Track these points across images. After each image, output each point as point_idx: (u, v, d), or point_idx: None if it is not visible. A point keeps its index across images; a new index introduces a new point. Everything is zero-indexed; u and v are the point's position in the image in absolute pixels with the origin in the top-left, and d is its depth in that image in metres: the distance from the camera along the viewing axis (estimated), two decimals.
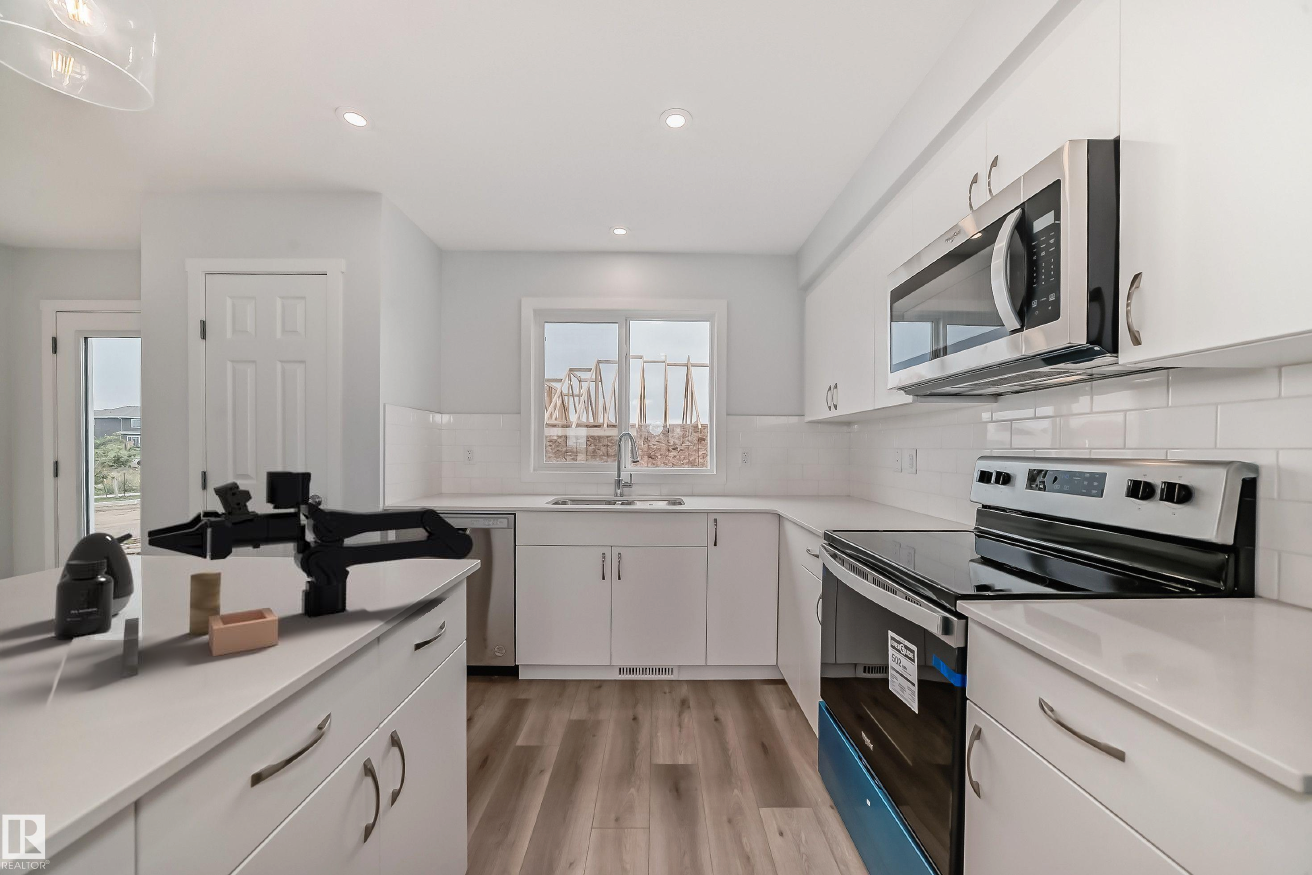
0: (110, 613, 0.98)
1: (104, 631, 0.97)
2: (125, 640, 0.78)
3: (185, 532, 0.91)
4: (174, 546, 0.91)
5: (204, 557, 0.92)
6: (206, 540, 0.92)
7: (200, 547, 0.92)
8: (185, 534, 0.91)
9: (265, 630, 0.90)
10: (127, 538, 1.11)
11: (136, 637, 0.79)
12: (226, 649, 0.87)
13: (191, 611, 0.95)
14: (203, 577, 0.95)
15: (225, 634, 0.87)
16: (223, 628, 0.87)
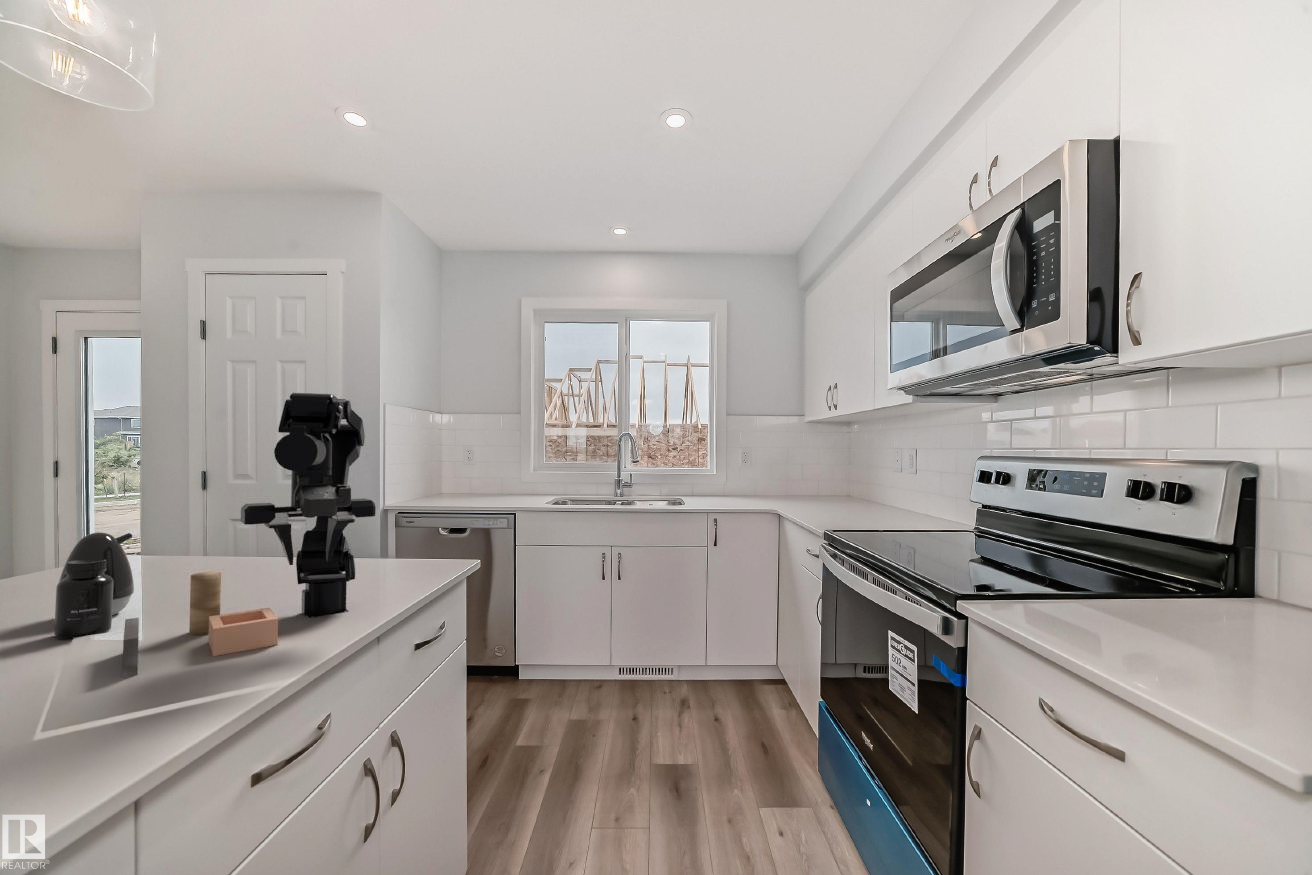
0: (110, 613, 0.98)
1: (104, 631, 0.97)
2: (125, 640, 0.78)
3: (340, 535, 0.99)
4: None
5: None
6: None
7: None
8: None
9: (265, 630, 0.90)
10: (127, 538, 1.11)
11: (136, 637, 0.79)
12: (226, 649, 0.87)
13: (191, 611, 0.95)
14: (203, 577, 0.95)
15: (225, 634, 0.87)
16: (223, 628, 0.87)
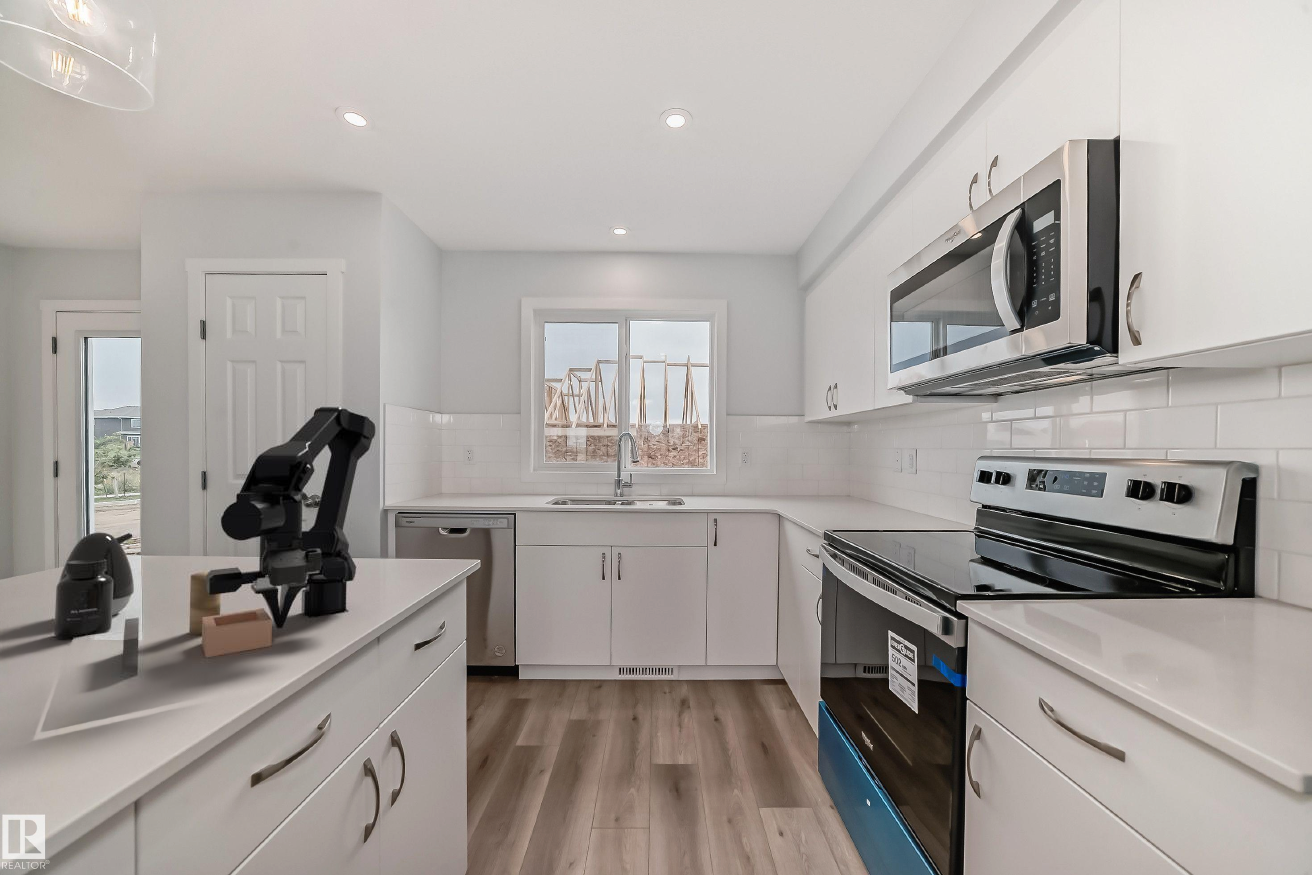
0: (110, 613, 0.98)
1: (104, 631, 0.97)
2: (125, 640, 0.78)
3: None
4: None
5: None
6: None
7: None
8: None
9: (259, 631, 0.89)
10: (127, 538, 1.11)
11: (136, 637, 0.79)
12: (219, 650, 0.86)
13: (191, 611, 0.95)
14: (203, 577, 0.95)
15: (219, 636, 0.86)
16: (216, 629, 0.86)
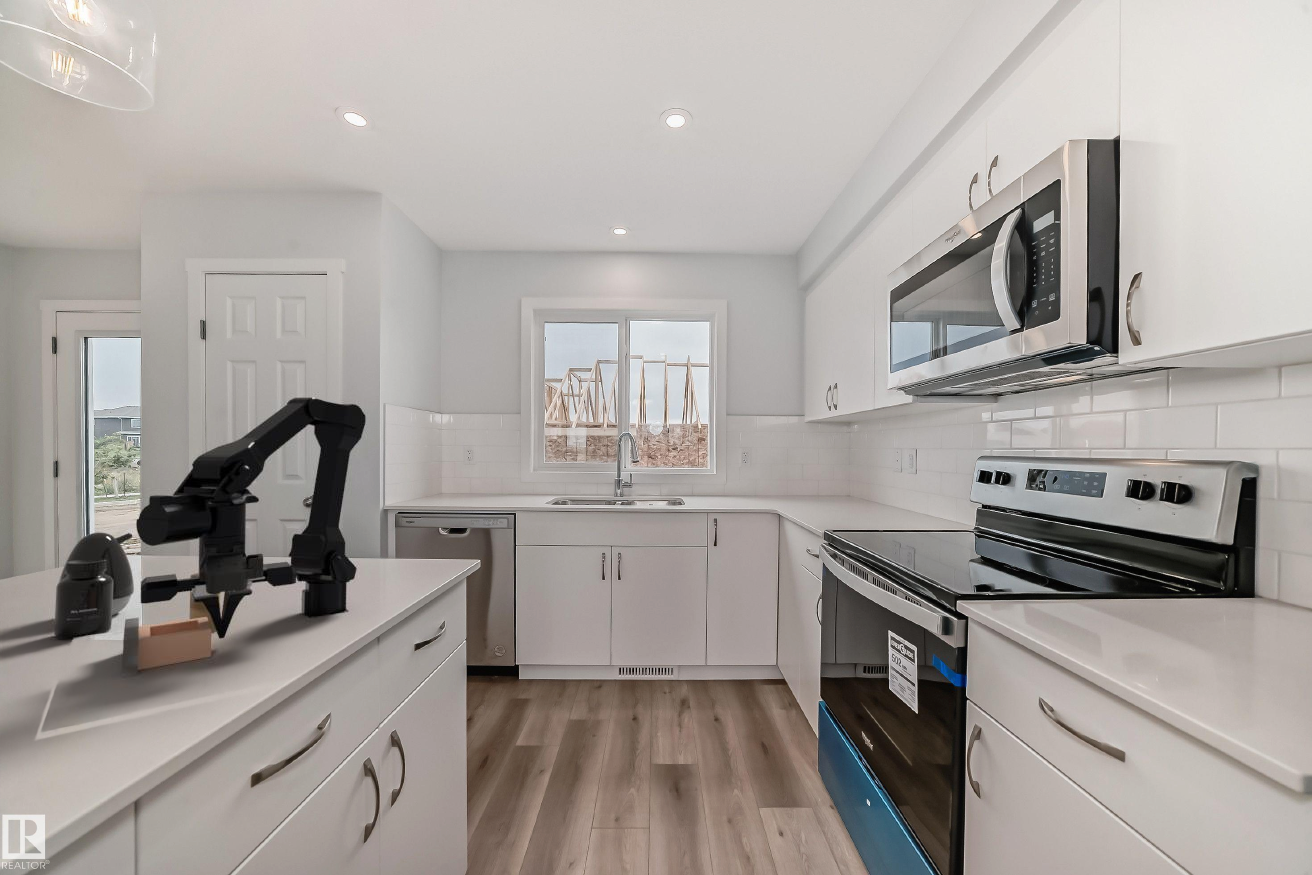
0: (110, 613, 0.98)
1: (104, 631, 0.97)
2: (125, 640, 0.78)
3: (235, 608, 0.90)
4: None
5: None
6: None
7: None
8: None
9: (197, 641, 0.85)
10: (127, 538, 1.11)
11: (136, 637, 0.79)
12: (152, 662, 0.81)
13: (191, 611, 0.95)
14: None
15: (152, 647, 0.81)
16: (149, 640, 0.81)
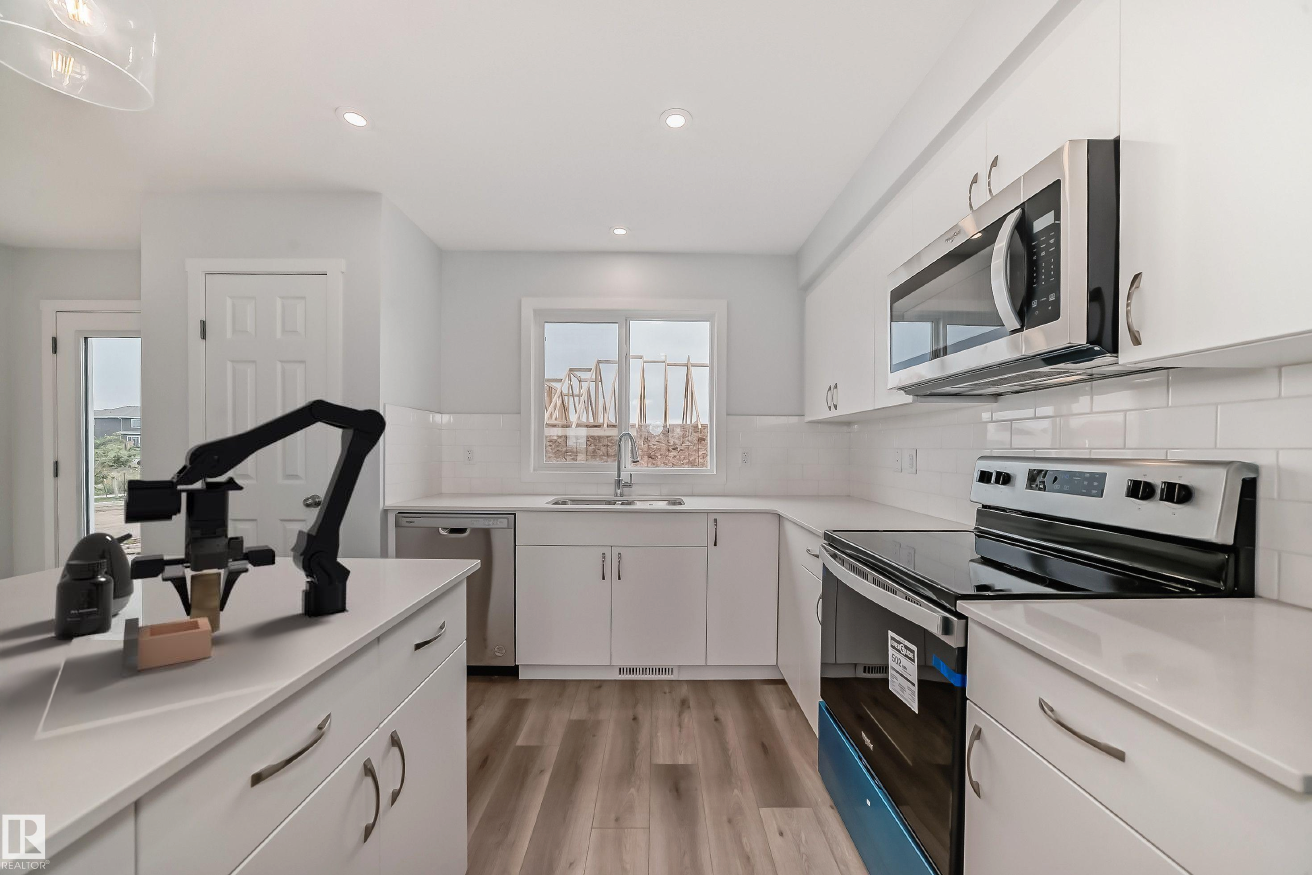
0: (110, 613, 0.98)
1: (104, 631, 0.97)
2: (125, 640, 0.78)
3: (233, 585, 0.99)
4: None
5: None
6: None
7: None
8: None
9: (197, 641, 0.85)
10: (127, 538, 1.11)
11: (136, 637, 0.79)
12: (152, 662, 0.81)
13: (191, 611, 0.95)
14: (203, 577, 0.95)
15: (152, 647, 0.81)
16: (149, 640, 0.81)
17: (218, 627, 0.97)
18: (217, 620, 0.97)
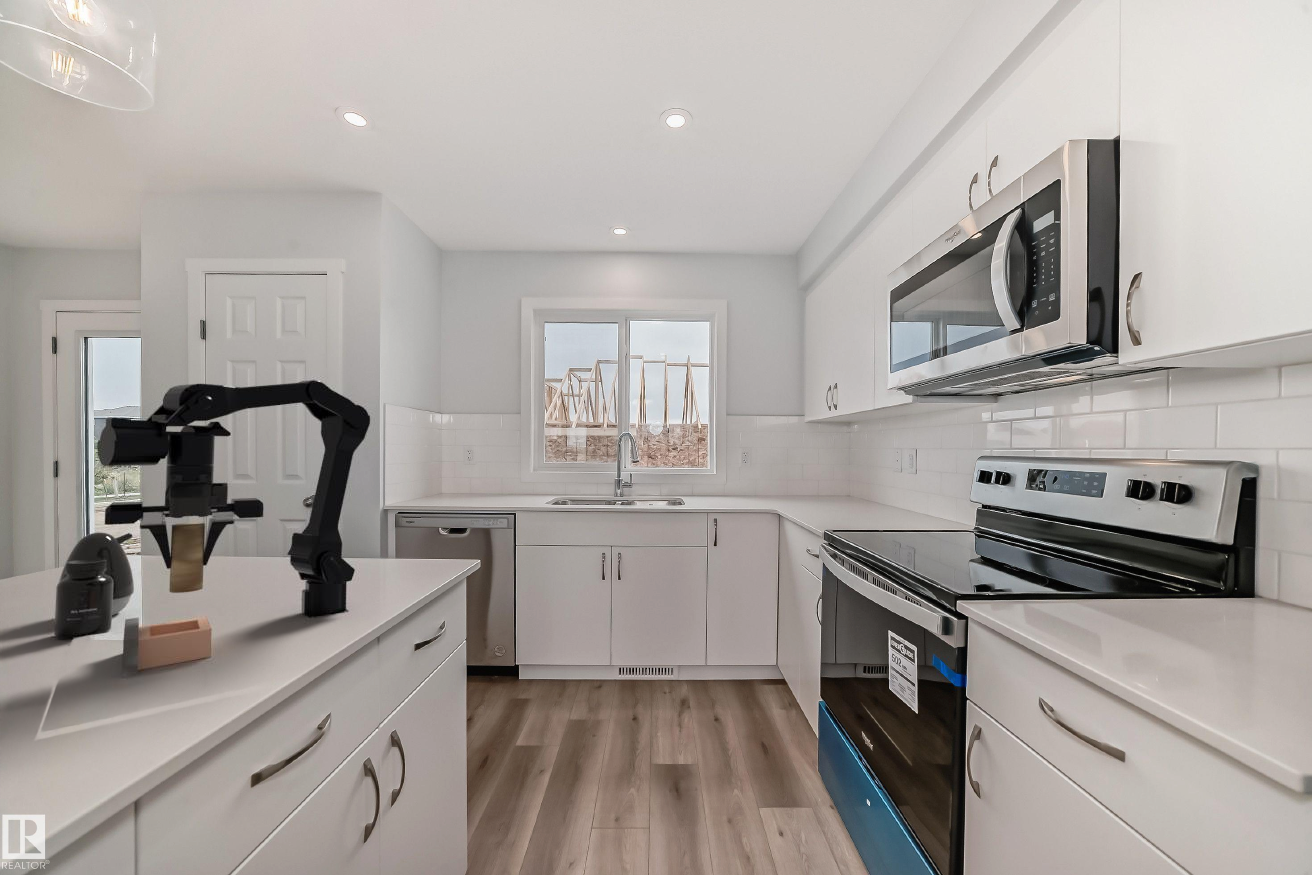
0: (110, 613, 0.98)
1: (104, 631, 0.97)
2: (125, 640, 0.78)
3: None
4: None
5: None
6: None
7: None
8: None
9: (197, 641, 0.85)
10: (127, 538, 1.11)
11: (136, 637, 0.79)
12: (152, 662, 0.81)
13: (172, 563, 0.89)
14: (185, 527, 0.89)
15: (152, 647, 0.81)
16: (149, 640, 0.81)
17: (201, 582, 0.91)
18: (200, 574, 0.91)
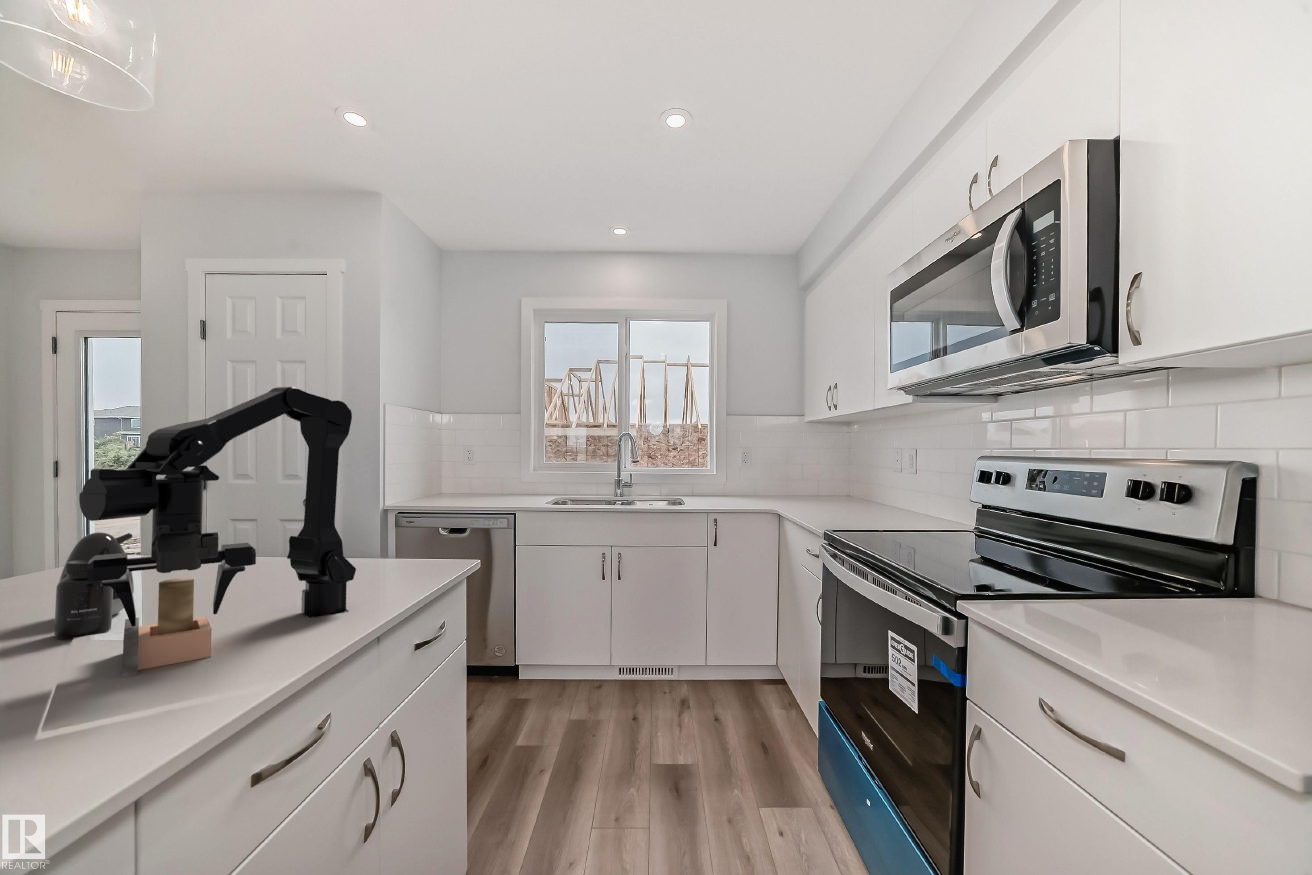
0: (110, 613, 0.98)
1: (104, 631, 0.97)
2: (125, 640, 0.78)
3: (228, 585, 0.89)
4: None
5: None
6: None
7: None
8: None
9: (197, 641, 0.85)
10: (127, 538, 1.11)
11: (136, 637, 0.79)
12: (152, 662, 0.81)
13: (159, 623, 0.84)
14: (173, 585, 0.84)
15: (152, 647, 0.81)
16: (149, 640, 0.81)
17: None
18: None
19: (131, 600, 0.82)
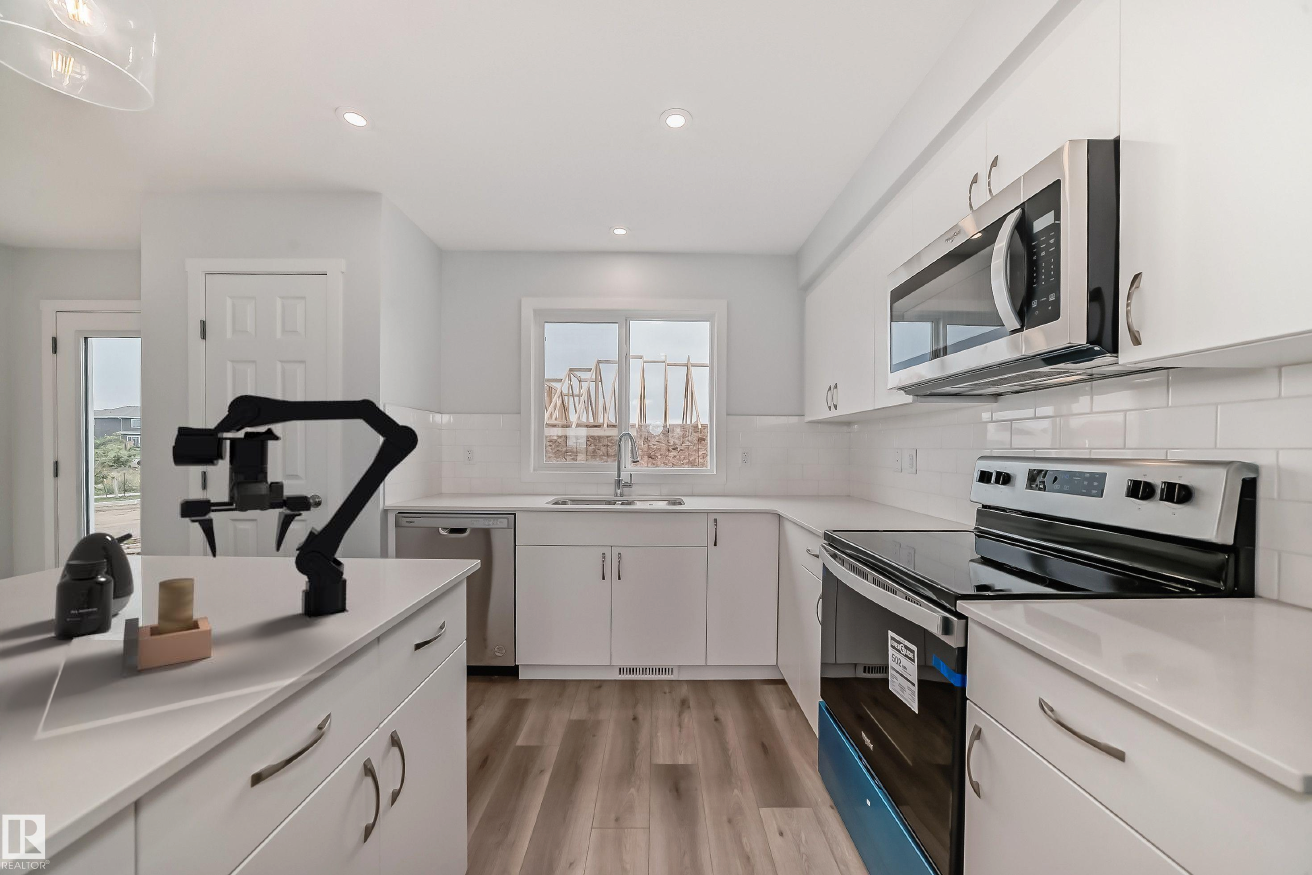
0: (110, 613, 0.98)
1: (104, 631, 0.97)
2: (125, 640, 0.78)
3: (288, 527, 1.07)
4: None
5: None
6: None
7: None
8: None
9: (197, 641, 0.85)
10: (127, 538, 1.11)
11: (136, 637, 0.79)
12: (152, 662, 0.81)
13: (159, 623, 0.84)
14: (173, 584, 0.84)
15: (152, 647, 0.81)
16: (149, 640, 0.81)
17: None
18: None
19: (213, 535, 1.00)
